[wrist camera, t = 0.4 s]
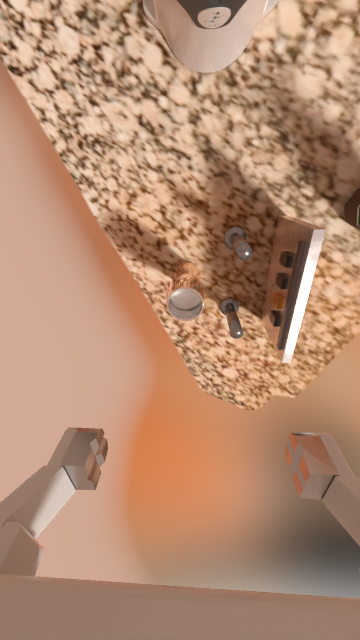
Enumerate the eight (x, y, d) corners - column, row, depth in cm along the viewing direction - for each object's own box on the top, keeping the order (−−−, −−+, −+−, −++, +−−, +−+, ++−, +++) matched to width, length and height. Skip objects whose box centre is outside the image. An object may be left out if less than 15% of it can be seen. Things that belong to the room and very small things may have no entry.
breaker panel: (273, 215, 46) (306, 229, 32) (286, 215, 46) (325, 229, 32) (257, 320, 58) (276, 362, 44) (267, 319, 58) (290, 362, 44)
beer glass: (168, 265, 52) (159, 292, 39) (198, 256, 51) (199, 281, 38) (177, 292, 56) (172, 325, 43) (206, 284, 54) (209, 316, 41)
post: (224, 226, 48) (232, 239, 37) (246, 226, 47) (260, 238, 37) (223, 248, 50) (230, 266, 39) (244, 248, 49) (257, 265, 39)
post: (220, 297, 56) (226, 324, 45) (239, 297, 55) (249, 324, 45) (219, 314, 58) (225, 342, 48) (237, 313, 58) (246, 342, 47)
